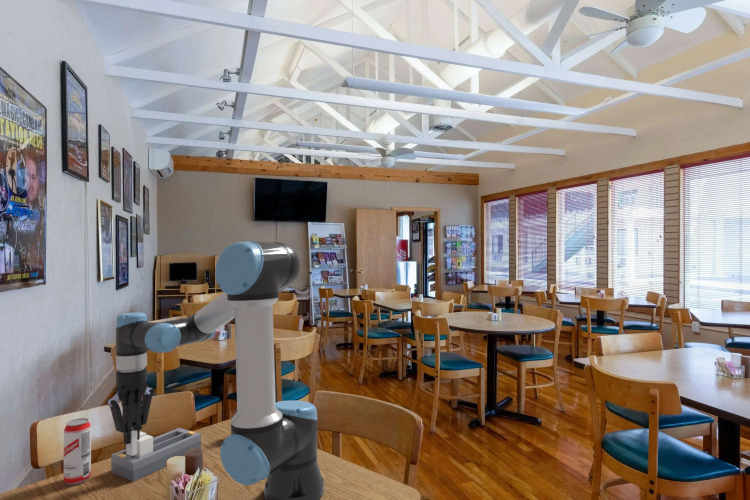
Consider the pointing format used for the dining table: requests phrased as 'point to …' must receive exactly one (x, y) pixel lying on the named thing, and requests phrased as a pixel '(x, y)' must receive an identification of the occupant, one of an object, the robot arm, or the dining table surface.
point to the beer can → (77, 451)
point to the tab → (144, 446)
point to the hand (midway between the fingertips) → (131, 453)
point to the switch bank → (155, 454)
